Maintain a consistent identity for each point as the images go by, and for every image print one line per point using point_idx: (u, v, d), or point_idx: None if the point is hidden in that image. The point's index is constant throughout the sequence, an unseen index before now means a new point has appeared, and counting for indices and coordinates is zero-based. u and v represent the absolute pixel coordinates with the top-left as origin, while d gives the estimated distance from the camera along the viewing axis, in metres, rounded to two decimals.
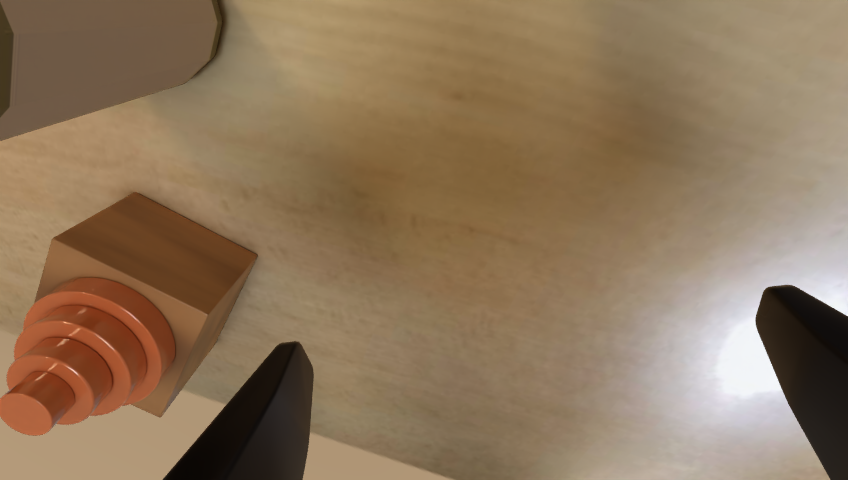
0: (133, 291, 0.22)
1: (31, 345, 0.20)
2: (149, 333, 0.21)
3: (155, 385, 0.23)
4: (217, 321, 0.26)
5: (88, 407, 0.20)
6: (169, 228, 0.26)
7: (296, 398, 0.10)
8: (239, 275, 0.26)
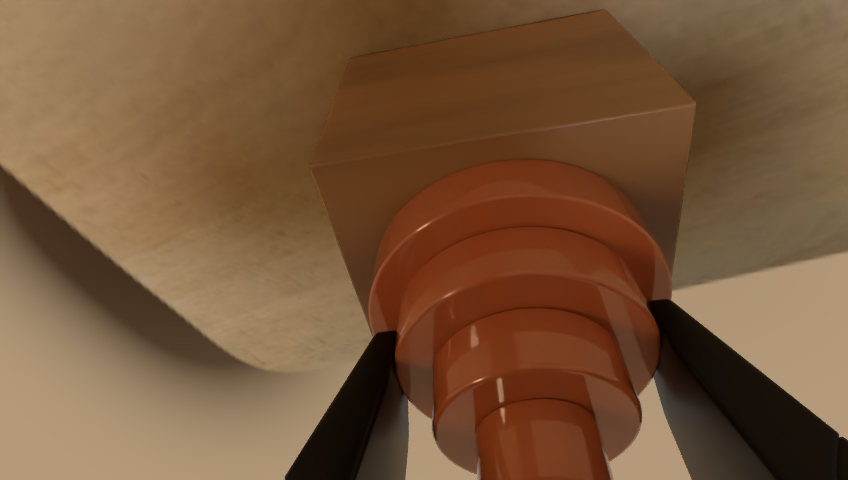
0: (513, 162, 0.09)
1: (427, 368, 0.09)
2: (617, 214, 0.09)
3: None
4: None
5: (632, 422, 0.08)
6: (447, 58, 0.13)
7: (399, 388, 0.10)
8: (631, 38, 0.12)
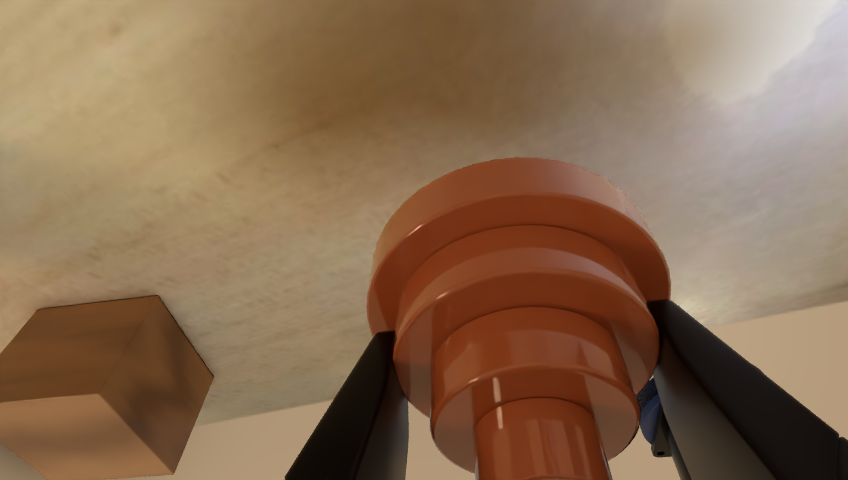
0: (512, 160, 0.09)
1: (425, 366, 0.09)
2: (615, 212, 0.09)
3: None
4: (160, 374, 0.26)
5: (631, 420, 0.08)
6: (67, 325, 0.26)
7: (399, 388, 0.10)
8: (135, 330, 0.25)
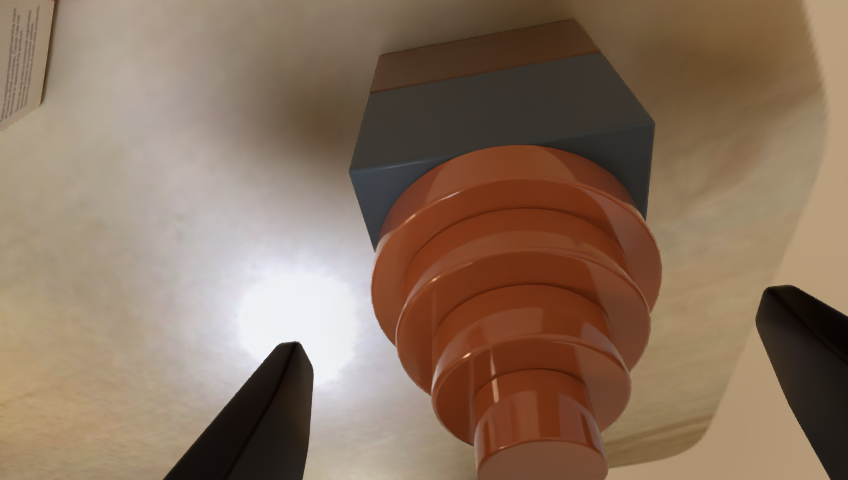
0: (509, 147, 0.10)
1: (426, 344, 0.10)
2: (608, 196, 0.09)
3: (658, 290, 0.10)
4: None
5: (622, 392, 0.09)
6: None
7: (296, 398, 0.10)
8: None
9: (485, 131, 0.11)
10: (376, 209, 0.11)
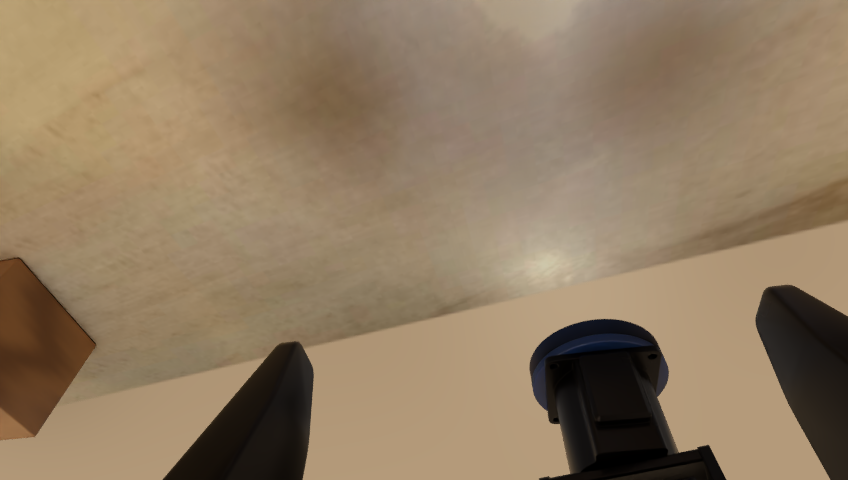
0: None
1: None
2: None
3: None
4: (19, 336, 0.26)
5: None
6: None
7: (296, 398, 0.10)
8: None
9: None
10: None
